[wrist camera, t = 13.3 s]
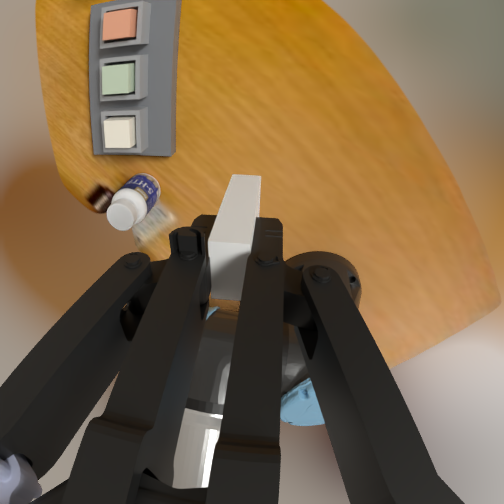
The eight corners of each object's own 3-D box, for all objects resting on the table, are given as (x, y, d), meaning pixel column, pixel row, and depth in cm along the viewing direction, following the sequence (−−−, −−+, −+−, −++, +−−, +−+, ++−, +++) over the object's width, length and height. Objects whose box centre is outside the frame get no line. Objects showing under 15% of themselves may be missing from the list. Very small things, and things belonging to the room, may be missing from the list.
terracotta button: (139, 37, 30) (129, 36, 27) (114, 40, 30) (102, 40, 27) (141, 10, 28) (131, 8, 25) (115, 14, 28) (103, 13, 25)
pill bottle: (164, 178, 44) (142, 207, 37) (157, 208, 47) (135, 240, 40) (132, 167, 43) (104, 193, 36) (126, 197, 46) (100, 227, 39)
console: (175, 151, 41) (165, 162, 38) (100, 150, 42) (85, 160, 38) (181, -5, 29) (170, -11, 25) (98, 6, 29) (81, 4, 25)
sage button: (138, 89, 34) (128, 92, 31) (113, 90, 34) (102, 94, 32) (138, 62, 32) (128, 64, 29) (113, 64, 32) (101, 66, 29)
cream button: (139, 141, 38) (130, 147, 36) (115, 140, 38) (105, 147, 36) (138, 114, 36) (128, 120, 33) (114, 115, 36) (103, 120, 34)
